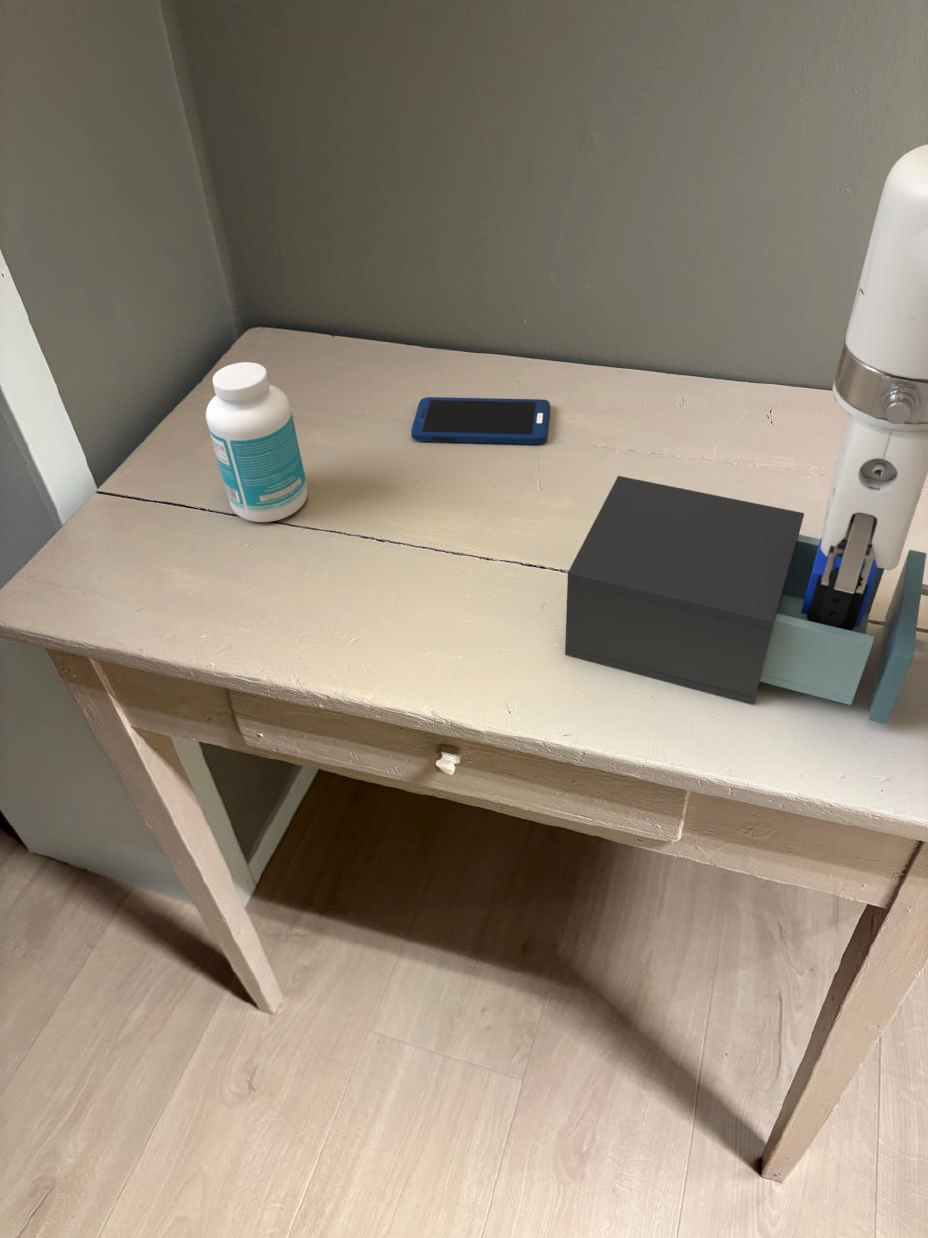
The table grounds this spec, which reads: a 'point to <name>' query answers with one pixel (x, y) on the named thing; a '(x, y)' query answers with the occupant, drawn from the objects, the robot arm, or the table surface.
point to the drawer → (844, 638)
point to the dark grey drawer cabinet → (680, 586)
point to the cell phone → (482, 420)
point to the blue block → (821, 563)
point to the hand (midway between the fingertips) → (835, 599)
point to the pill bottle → (256, 444)
